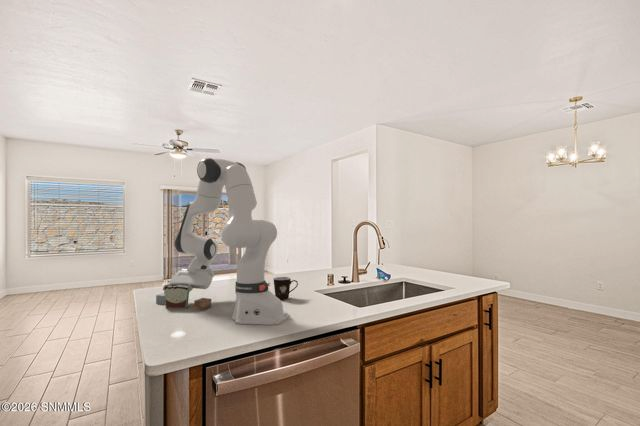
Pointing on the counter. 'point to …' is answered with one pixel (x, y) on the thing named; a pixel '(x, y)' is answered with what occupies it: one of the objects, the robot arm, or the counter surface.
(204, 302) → the walnut block
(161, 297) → the slate block
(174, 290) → the food container
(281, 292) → the coffee mug
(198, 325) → the counter surface
